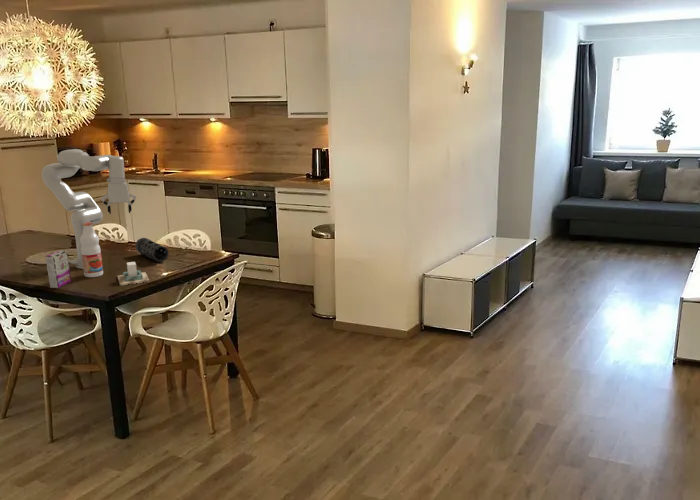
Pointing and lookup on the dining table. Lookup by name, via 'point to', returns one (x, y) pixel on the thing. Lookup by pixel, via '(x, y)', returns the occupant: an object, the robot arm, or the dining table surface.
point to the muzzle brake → (152, 249)
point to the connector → (131, 269)
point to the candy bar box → (58, 269)
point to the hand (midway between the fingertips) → (119, 212)
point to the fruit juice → (91, 252)
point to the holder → (132, 278)
